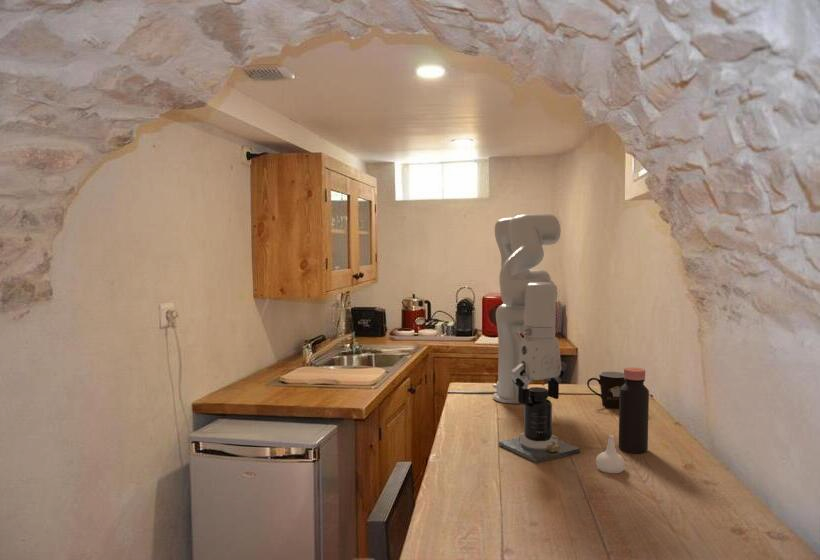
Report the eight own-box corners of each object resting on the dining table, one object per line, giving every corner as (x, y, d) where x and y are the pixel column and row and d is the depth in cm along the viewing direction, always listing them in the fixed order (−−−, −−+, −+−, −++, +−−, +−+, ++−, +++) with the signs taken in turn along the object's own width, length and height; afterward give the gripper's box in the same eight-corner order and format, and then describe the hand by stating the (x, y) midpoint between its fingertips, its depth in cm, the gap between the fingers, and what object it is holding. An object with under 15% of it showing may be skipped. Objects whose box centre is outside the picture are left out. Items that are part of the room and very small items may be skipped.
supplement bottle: (522, 432, 152) (522, 385, 151) (550, 432, 151) (550, 386, 151) (525, 441, 145) (525, 392, 144) (553, 441, 144) (554, 392, 144)
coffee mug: (630, 404, 188) (630, 373, 188) (624, 411, 181) (625, 378, 180) (592, 399, 194) (593, 369, 194) (585, 405, 187) (586, 374, 186)
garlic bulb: (600, 477, 132) (602, 442, 131) (591, 463, 138) (593, 431, 137) (628, 476, 132) (630, 442, 131) (618, 463, 138) (620, 430, 137)
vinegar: (650, 447, 149) (652, 368, 148) (644, 455, 143) (646, 373, 142) (622, 442, 153) (623, 365, 151) (615, 450, 147) (616, 370, 146)
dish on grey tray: (498, 445, 151) (498, 433, 151) (540, 436, 158) (540, 425, 158) (536, 463, 139) (536, 450, 139) (579, 452, 146) (580, 440, 145)
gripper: (522, 338, 139) (521, 410, 141) (576, 331, 148) (575, 399, 149) (502, 333, 146) (501, 402, 147) (555, 327, 154) (553, 391, 156)
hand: (538, 400), depth 148 cm, fingers open, 9 cm apart
